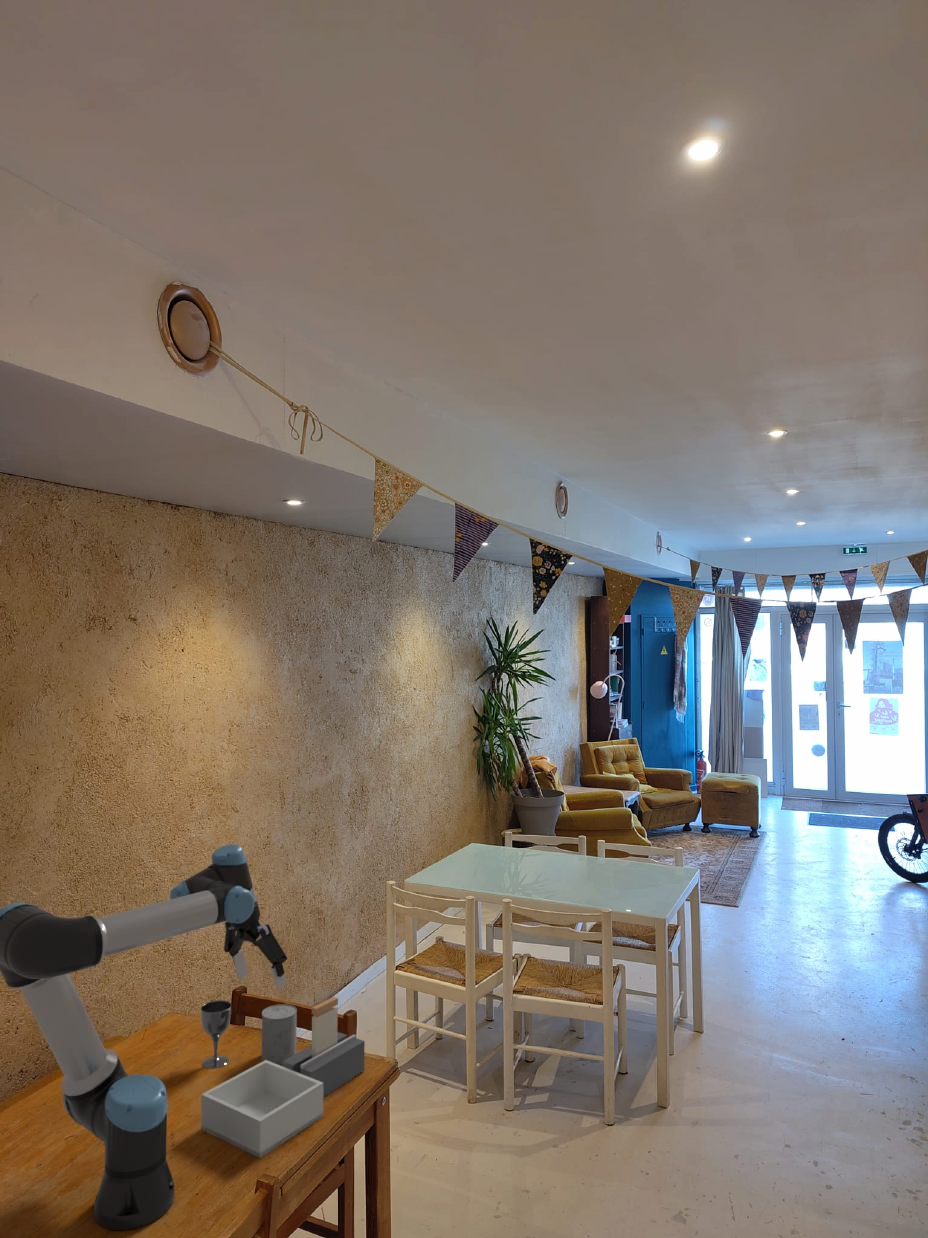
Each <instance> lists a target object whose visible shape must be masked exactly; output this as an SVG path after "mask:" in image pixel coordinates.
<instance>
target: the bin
mask: <svg viewBox="0 0 928 1238" xmlns="http://www.w3.org/2000/svg"><path fill="white" fill-rule="evenodd" d="M200 1101H201V1107H200V1108H201V1110H200V1111H201V1114H200V1115H201V1116H200V1117H201V1119H200V1121H201V1122H200V1129H201V1130H202V1131H204V1132H205V1133H208V1134H210V1135H212V1136H214V1137H216V1138H218V1139H220V1140H222V1141H224V1142H225V1143H228V1144H230V1145H231V1146H234V1147H236V1148H238V1149H240V1150H243V1151H244V1152H245V1153H248V1154H250V1155H252V1156H255V1157H257V1158H258V1159H261V1158H263V1157H265V1156H266V1155H267V1154H269V1153H270V1152H272V1151H273V1150H275V1149H276V1148H278V1147H280V1146H281V1145H282V1144H284V1143H286V1142H287V1141H288V1140H290V1139H291V1138H293V1137H294V1136H297V1134H299V1133H301V1132H302V1131H304V1130H305V1129H306V1128H308V1127H309V1126H311V1125H313V1124H314V1123H316V1122H317V1121H319V1120H320V1119H322V1118H323V1117H324V1097H323V1082H320V1081H318V1080H315V1079H313V1078H310V1077H308V1076H305V1075H303V1074H300V1073H298V1072H295V1071H293V1070H290V1069H287V1068H285V1067H283V1065H277V1064H275V1063H272V1062H270V1061H267V1060H265V1061H261V1062H259V1063H257V1064H255V1065H254V1066H252V1067H250V1068H248V1069H246V1070H245V1071H242V1072H240V1073H239V1074H237V1075H236V1076H233V1077H231V1078H229V1079H227V1080H225V1081H224V1082H222V1083H221V1084H218V1085H217V1086H215V1087H213V1088H211V1089H209V1090H207V1091H205V1092H204V1093H202V1094H201V1100H200Z"/></svg>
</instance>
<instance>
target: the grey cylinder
mask: <svg viewBox="0 0 928 1238" xmlns="http://www.w3.org/2000/svg"><path fill="white" fill-rule="evenodd" d="M297 1012H298V1009H297V1007H296V1006H294V1005H292V1004H285V1003H282V1004H281V1003H280V1004H275V1005H270V1006H268V1007H266V1008H264V1009H263V1010H262V1012H261V1017H262V1018H261V1057H260V1058H261V1062H263V1061H265V1060H267V1061H270V1062H272V1063H275V1064H277V1065H280V1066H283V1061H284V1060H286V1059H288V1058H289V1057H291V1056H293V1055H295V1054H297V1023H298V1021H297V1018H298V1017H297V1016H298V1015H297Z"/></svg>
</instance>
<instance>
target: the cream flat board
mask: <svg viewBox="0 0 928 1238" xmlns="http://www.w3.org/2000/svg"><path fill="white" fill-rule="evenodd" d="M338 1005H339V998H338V997H335V996H332V997H330V998H328V999H325V1000H324V1001H322V1002H321V1003H318V1004H317V1005H314V1006H312V1007H311V1015H313V1016H311V1045H312V1058H313V1057H315V1056H317V1055H319V1054H320V1053H322V1052H324V1051H326V1050H327V1049H329V1048H331V1047H333V1046H334V1045H336V1044H337V1032H338V1023H339V1022H338V1020H339V1019H338V1018H339V1017H338V1015H339V1013H338V1012H339V1011H338Z"/></svg>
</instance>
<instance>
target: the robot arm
mask: <svg viewBox="0 0 928 1238" xmlns="http://www.w3.org/2000/svg"><path fill="white" fill-rule="evenodd" d="M256 896H257V895H256V893H255V889H254V886H253V881H252V877H251V873H250V870H249V866H248V860H247V858H246V855H245V852H244V850H243V847H241V845H239V844H236V843H235V844H234V843H232V844H227V845H223V846H221V847H218V848H217V849H216V850H214V852H212V854H211V864H209V865H208V866H207V867H206V868H204V869H202V870H201V871H199V872H197V873H195V874H194V875H192V876H190V877H188V878H186V879H185V880H182V881H181V882H180V883H179V884H177V885H176V886H174V887H173V888H171V890H170V893H169V899H167V900H163V901H159V902H156V903H151V904H148V905H145V906H139V907H137V908H133V909H129V910H126V911H122V912H121V911H120V912H118V913H114V914H110V915H106V916H103V917H98V918H97V917H96V916H94V915H92V914H89V915H84V916H81V917H61V916H57V915H54V914H52V913H51V912H48V911H46V910H44V909H41V908H40V907H39V906H38V905H36V904H32V903H27V902H13V903H10V904H7V905H5V906H3V907H1V908H0V973H1V975H2V977H3V980H4V981H5V984H7V987H9V988H10V989H14V990H20V992H21V994H22V996H23V998H24V1000H25V1002H26V1004H27V1005H28V1007H29V1009H30V1012H31V1014H32V1016H33V1017H34V1019H35V1021H36V1023H37V1025H38V1027H39V1029H40V1031H41V1033H42V1035H43V1037H44V1039H45V1041H46V1042H47V1044H48V1046H49V1048H50V1051H51V1052H52V1055H53V1056H54V1058H55V1060H56V1062H57V1064H58V1066H59V1067H60V1070H61V1072H62V1074H63V1076H64V1077H63V1079H62V1081H61V1084H60V1085H61V1091H62V1093H63V1095H62V1096H63V1097H62V1098H63V1099H62V1101H63V1104H64V1108H65V1110H66V1112H67V1114H68V1115H69V1117H70V1118H71V1119H72V1120H73V1121H74V1122H75V1123H77V1124H78V1125H80V1126H82V1127H83V1128H85V1130H87V1131H89V1132H90V1133H91V1134H92V1135H94V1136H95V1137H96V1138H97V1139H99V1140H100V1141H102V1142H103V1144H104V1172H103V1176H102V1179H101V1181H100V1185H99V1189H98V1192H97V1194H96V1196H95V1199H94V1209H93V1211H94V1212H93V1213H94V1214H93V1215H94V1217H93V1218H94V1220H95V1221H96V1223H97V1224H98V1225H99V1226H100V1227H102V1228H105V1229H107V1230H112V1231H127V1230H129V1231H130V1230H133V1229H137V1228H141V1227H144V1226H147V1225H149V1224H152V1223H154V1222H155V1221H156V1220H158V1219H159V1218H161V1217H163V1216H164V1215H165V1214H166V1213H167V1212H168V1211H169V1210H170V1209H171V1207H172V1206H173V1204H174V1201H175V1191H176V1190H175V1189H176V1188H175V1182H174V1178H173V1176H172V1173H171V1169H170V1167H169V1164H168V1161H167V1133H168V1132H167V1124H168V1123H167V1122H168V1109H169V1108H168V1107H169V1105H168V1104H169V1102H168V1093H167V1088H166V1085H165V1084H164V1083H163V1081H162V1080H161V1079H159V1078H158V1077H156V1076H155V1075H154V1076H153V1075H150V1074H146V1075H143V1073H141V1074H140V1073H137V1074H136V1073H135V1074H130V1075H128V1074H127V1072H126V1070H125V1068H124V1066H123V1064H122V1062H121V1060H120V1058H119V1056H118V1053H117V1052H116V1051H115V1050H114V1049H110V1048H105V1046H104V1044H103V1042H102V1040H101V1037H100V1036H99V1033H98V1032H97V1030H96V1027H95V1025H94V1024H93V1021H92V1019H91V1018H90V1015H89V1013H88V1011H87V1009H86V1007H85V1005H84V1003H83V1001H82V999H81V997H80V995H79V993H78V991H77V988H76V987H75V985H74V983H73V981H72V978H71V977H70V975H69V974H71V973H75V972H78V971H83V970H86V969H88V968H92V967H95V966H97V965H99V964H100V963H101V961H102V960H103V959H104V958H106V957H109V956H112V955H116V954H120V953H123V952H125V951H130V950H133V949H136V948H140V947H143V946H146V945H149V944H153V943H157V942H160V941H163V940H166V939H167V940H168V939H170V938H173V937H176V936H180V935H183V934H186V933H189V932H194V931H197V930H200V929H203V928H206V927H209V926H212V925H216V924H221V923H223V922H224V926H225V937H224V944H223V945H224V946H223V951H224V952H225V953H229V955H230V956H231V958H232V961H233V964H234V966H235V970H236V972H237V976H238V979H239V981H242V980H243V979H244V978H245V977H246V976H247V975H249V969H248V966H247V961H246V959H245V956H244V952H243V950H242V949H243V948H242V946H243V944H244V942H249V943H252V945H253V946H254V947H258V949H259V950H260V951H261V953H262V954H263V955H264V957H266V958H267V960H268V961H269V962H270V969H271V973H272V974H271V975H272V977H273V980H274V984H275V989H276V990H277V991H280V990H281V989H282V988H283V987H285V986H286V985H287V979H286V975H285V969H284V966H283V965H284V963H285V962H286V961H287V960H288V957H287V955H286V953H285V952H284V950H283V948H282V946H281V945H280V943H279V942H278V940H277V939H276V937H275V935H274V933H273V931H272V929H271V925H269V924H265V925H263V926H262V925H261V923H260V922H259V920H260V917H261V910H260V907H259V903H258V901H257V897H256Z"/></svg>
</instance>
